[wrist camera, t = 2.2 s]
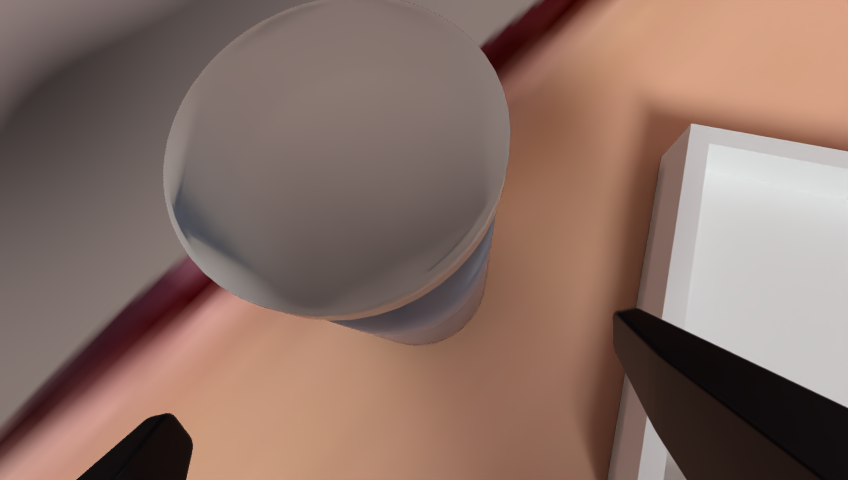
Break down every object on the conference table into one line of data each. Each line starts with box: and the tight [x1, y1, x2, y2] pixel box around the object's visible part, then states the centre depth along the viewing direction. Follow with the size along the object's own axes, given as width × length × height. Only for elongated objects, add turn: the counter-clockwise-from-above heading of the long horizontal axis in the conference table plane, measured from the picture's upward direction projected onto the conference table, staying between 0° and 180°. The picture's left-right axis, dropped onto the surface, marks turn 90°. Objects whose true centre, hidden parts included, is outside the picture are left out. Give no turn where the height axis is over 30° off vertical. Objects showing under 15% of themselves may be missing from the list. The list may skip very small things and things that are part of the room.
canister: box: [163, 0, 511, 345], centre depth 14 cm, size 7×7×13 cm
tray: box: [607, 123, 848, 480], centre depth 16 cm, size 16×14×3 cm
